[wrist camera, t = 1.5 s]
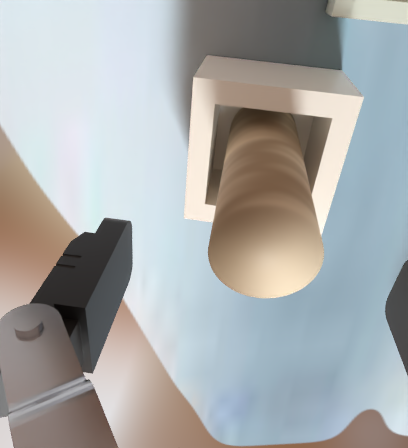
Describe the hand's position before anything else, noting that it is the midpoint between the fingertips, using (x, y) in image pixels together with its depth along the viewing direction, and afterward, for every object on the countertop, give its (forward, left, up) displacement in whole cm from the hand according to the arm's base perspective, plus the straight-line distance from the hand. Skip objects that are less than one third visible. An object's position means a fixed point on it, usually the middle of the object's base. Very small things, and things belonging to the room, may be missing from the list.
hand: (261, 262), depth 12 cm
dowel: (0, 0, -12) cm, 12 cm away
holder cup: (0, 0, -13) cm, 13 cm away
